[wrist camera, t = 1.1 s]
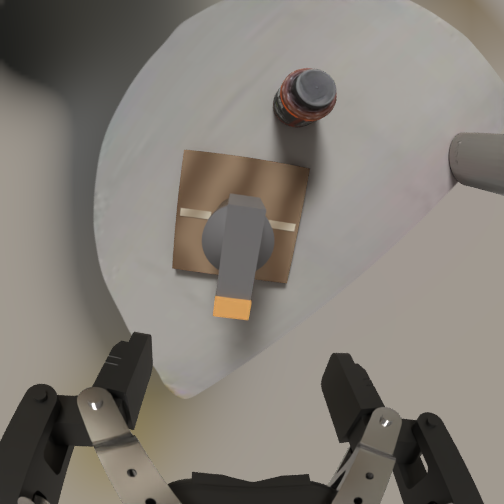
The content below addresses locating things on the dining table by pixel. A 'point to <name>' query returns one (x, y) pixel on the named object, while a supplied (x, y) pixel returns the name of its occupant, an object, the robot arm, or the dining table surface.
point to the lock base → (239, 181)
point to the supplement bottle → (305, 97)
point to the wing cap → (237, 252)
